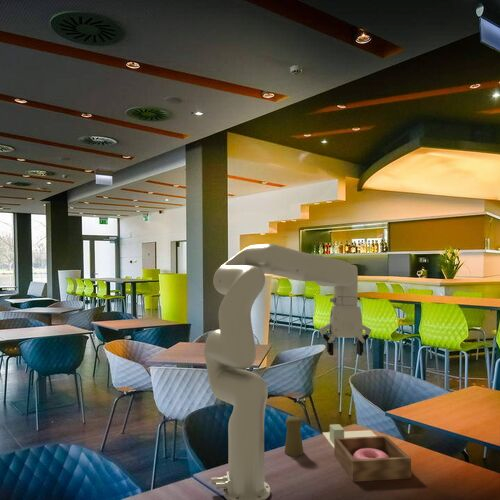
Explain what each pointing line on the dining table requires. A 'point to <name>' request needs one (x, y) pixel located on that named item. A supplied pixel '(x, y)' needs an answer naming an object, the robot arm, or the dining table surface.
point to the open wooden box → (372, 468)
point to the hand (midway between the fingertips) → (345, 354)
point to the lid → (344, 433)
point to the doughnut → (369, 454)
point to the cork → (293, 437)
